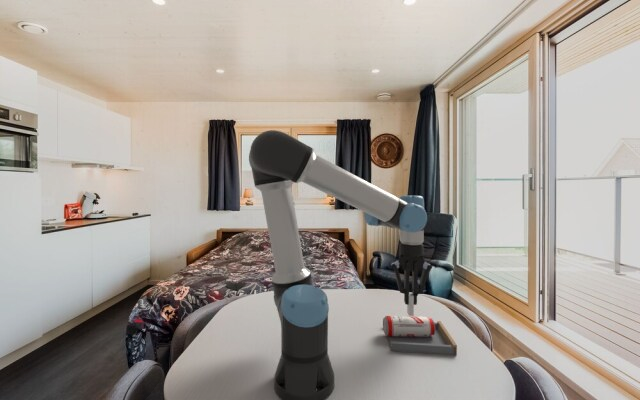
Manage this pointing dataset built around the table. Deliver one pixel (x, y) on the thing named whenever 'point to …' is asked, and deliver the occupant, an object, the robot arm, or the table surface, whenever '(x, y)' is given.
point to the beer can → (408, 326)
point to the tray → (426, 342)
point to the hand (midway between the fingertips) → (410, 313)
